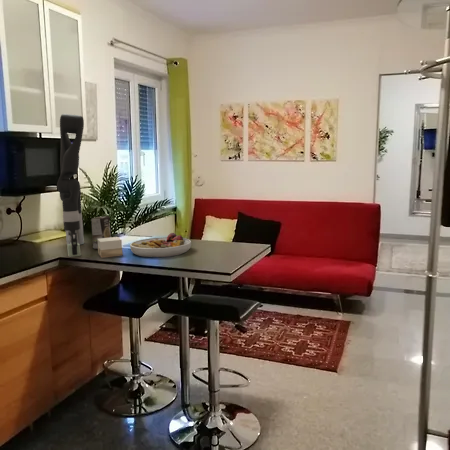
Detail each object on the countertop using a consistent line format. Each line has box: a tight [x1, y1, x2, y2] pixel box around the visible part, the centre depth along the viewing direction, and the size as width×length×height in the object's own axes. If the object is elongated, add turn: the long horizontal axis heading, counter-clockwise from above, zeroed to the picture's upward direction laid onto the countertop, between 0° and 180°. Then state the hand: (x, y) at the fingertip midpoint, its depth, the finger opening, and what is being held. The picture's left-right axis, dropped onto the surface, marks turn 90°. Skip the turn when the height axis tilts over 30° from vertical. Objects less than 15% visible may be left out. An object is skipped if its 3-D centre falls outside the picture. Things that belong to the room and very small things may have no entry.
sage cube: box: [66, 243, 82, 258], centre depth 229 cm, size 6×6×6 cm
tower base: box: [97, 247, 123, 258], centre depth 228 cm, size 10×10×4 cm
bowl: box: [129, 232, 192, 258], centre depth 231 cm, size 30×30×8 cm
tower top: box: [97, 236, 123, 250], centre depth 227 cm, size 10×10×4 cm
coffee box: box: [90, 215, 112, 250], centre depth 247 cm, size 9×6×16 cm
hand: (74, 253), depth 229 cm, fingers open, 7 cm apart
